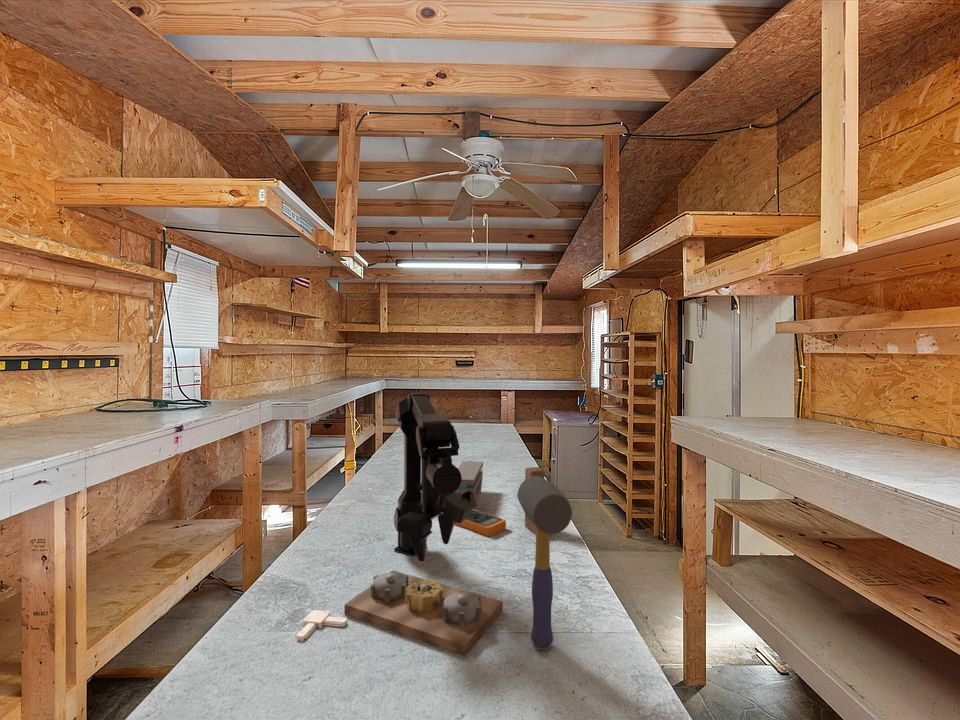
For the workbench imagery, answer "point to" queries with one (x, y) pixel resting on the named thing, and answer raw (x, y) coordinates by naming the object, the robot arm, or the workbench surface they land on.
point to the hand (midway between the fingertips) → (434, 552)
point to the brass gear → (424, 596)
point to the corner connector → (319, 623)
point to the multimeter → (483, 523)
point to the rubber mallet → (543, 548)
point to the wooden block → (528, 473)
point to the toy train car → (471, 478)
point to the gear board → (426, 613)
